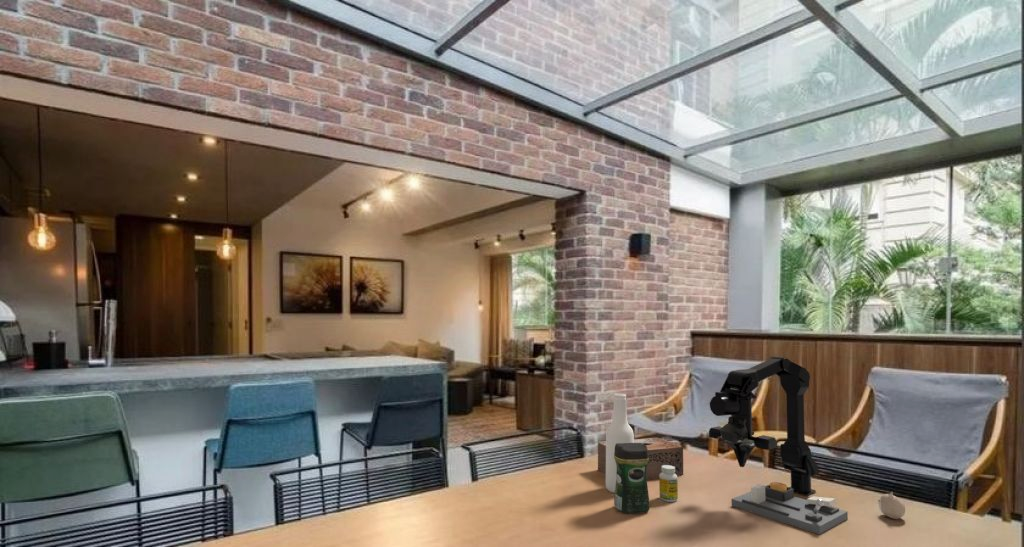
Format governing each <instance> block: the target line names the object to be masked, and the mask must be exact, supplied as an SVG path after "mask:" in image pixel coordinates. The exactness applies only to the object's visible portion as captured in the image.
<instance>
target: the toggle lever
mask: <svg viewBox="0 0 1024 547" xmlns="http://www.w3.org/2000/svg"><path fill="white" fill-rule="evenodd" d="M816 503H817V504H816V506H815V508H814V510H813V513H814V514H817V512H818V511H819V509H820V507H821V506H823V505H824V501H823V500H822V499H817V500H816Z"/></svg>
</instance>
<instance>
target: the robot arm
mask: <svg viewBox="0 0 1024 547" xmlns="http://www.w3.org/2000/svg"><path fill="white" fill-rule="evenodd" d="M774 375H776V376H777V377H778V378H779V383H780V386H781V388H782V390H783V391H784V393H785V401H786V402H785V403H786V404H785V408H786V439H785V441H784V443H781V444H780V445H779V448H780V454H779V457H780V458H781V459H780V460H781V461H782V466H783V469H785V470H788V471H790V486H788V487H789V488H793V489H794V494H795V493H796V494H798V495H799V494H800V495H803V496H810V495H812V494H814V493H816V491H817V490H816V489H812V477H816V476H817V475H818V473H819V468H820V467H819V466H818V465H817V463H816V461H814V459H813V458H812V451H811V450H812V449H811V448H810V447H809V444H808V443H807V442H806V439H805V438H806V437H805V435H806V434H805V404H804V403H805V400H804V397H805V396H804V395H805V393H806V392H807V391H808V389H809V387H810V379H811V375H810V372H809V371H808V369H806V367H803V366H801V365H799V364H797V363H796V362H793V361H791V360H790V359H788V358H786V357H783V356H771V357H769V359H767V360H765V361H763V362H761V363H758V364H756V365H754V366H752V367H749V368H744V369H735V370H731V371H729V372H728V374H727V377H726V378H725V380H724V383H723V384H722V387H721V388H720V391H715V393H714V394H715V395H714V396H713V397H712V398H711V399H710V402H709V408H710V411H711V413H712V414H713V415H715V416H717V417H719V416H720V417H723V416H728V420H727V423H725V424H724V425H723V426H719V425H718V426H713V427H710V428H709V430H708V437H709V438H712V439H716V440H717V439H719V438H720V437H721V440H722V442H725V443H726V445H727V444H728V445H729V446H730V447H731V448H732V450H733V452H734V454H735V458H736V460H737V463H738V465H739V467H740V468H745V466H746V463H747V461H748V459H749V457H750V455H751V453H752V452H753V449H754V448H757V449H761V450H766V451H769V450H773V449H777V448H778V440H777V439H776V437H773V436H768V435H763V434H762V435H758V436H755V431H753V422H755V417H753V413H752V412H753V410H752V409H753V408H752V407H753V406H752V400H754V399H757V396H756V394H755V393H753V391H754V390H756V389H757V388H758V387H759V384H760V382H762V381H764V380H766V379H768V378H770V377H772V376H774Z"/></svg>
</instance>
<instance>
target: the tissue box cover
mask: <svg viewBox="0 0 1024 547" xmlns="http://www.w3.org/2000/svg"><path fill="white" fill-rule="evenodd" d="M634 443H642V444H644V445H646V446H647V449H648V456H649V461H648V464H647V481H648V480H657V479H659V475H660V473H662V470H661V467H662V466H663V465H670V466H674V467H675V474H676V475H677V477H681V476H682V475H683V476H684V446H681V445H680V444H676V443H674V442H672V441H669V440H668V441H667V440H665V439H662V438H661V437H660V438H659V437H647V438H634ZM597 471H598V472H601V473H602V474H603V475H605V476H606V441H600V442H599V441H597ZM683 476H682V477H683Z"/></svg>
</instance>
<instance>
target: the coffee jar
mask: <svg viewBox="0 0 1024 547" xmlns="http://www.w3.org/2000/svg"><path fill="white" fill-rule="evenodd" d="M614 459H615V461H616V466H617V474H616V487H615V493H614V499H613V501H614V503H613V506H614V507H615V509H616V510H617V511H618V512H620V513H623V514H641V513H644V514H645V513H648V512H649V510H650V506H651V505H650V497H649V496H650V494H649V487H648V480H647V464H648V461H649V456H648V449H647V446H646V445H644V444H642V443H617V444H616V445H615V452H614Z"/></svg>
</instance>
